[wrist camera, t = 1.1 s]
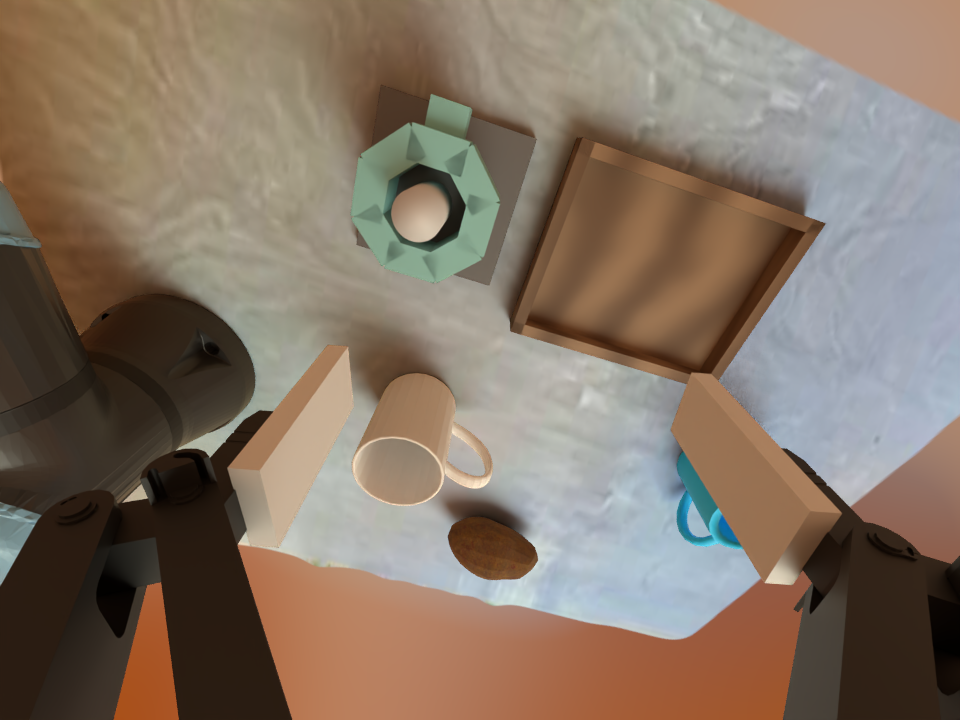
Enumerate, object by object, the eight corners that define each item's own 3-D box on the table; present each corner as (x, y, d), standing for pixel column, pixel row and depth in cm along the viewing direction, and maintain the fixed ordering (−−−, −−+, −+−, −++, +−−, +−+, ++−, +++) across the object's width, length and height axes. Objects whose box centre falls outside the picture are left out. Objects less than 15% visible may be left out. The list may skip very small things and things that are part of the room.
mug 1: (378, 423, 45) (347, 495, 36) (388, 363, 42) (356, 426, 32) (484, 447, 46) (480, 524, 37) (503, 391, 43) (503, 460, 33)
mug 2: (711, 421, 43) (752, 477, 36) (769, 450, 45) (821, 509, 38) (640, 493, 49) (665, 554, 41) (695, 516, 50) (728, 579, 43)
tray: (509, 320, 39) (510, 331, 37) (577, 137, 31) (582, 137, 29) (699, 377, 41) (710, 391, 39) (804, 218, 33) (825, 223, 31)
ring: (358, 246, 30) (344, 256, 28) (384, 79, 25) (370, 71, 23) (474, 281, 31) (472, 295, 28) (521, 127, 26) (524, 125, 24)
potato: (523, 554, 55) (526, 606, 49) (441, 531, 53) (433, 581, 47) (544, 522, 52) (549, 573, 46) (458, 496, 50) (452, 545, 44)
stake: (359, 242, 36) (304, 281, 26) (384, 86, 30) (326, 58, 20) (489, 282, 37) (485, 334, 27) (535, 139, 32) (552, 137, 22)
